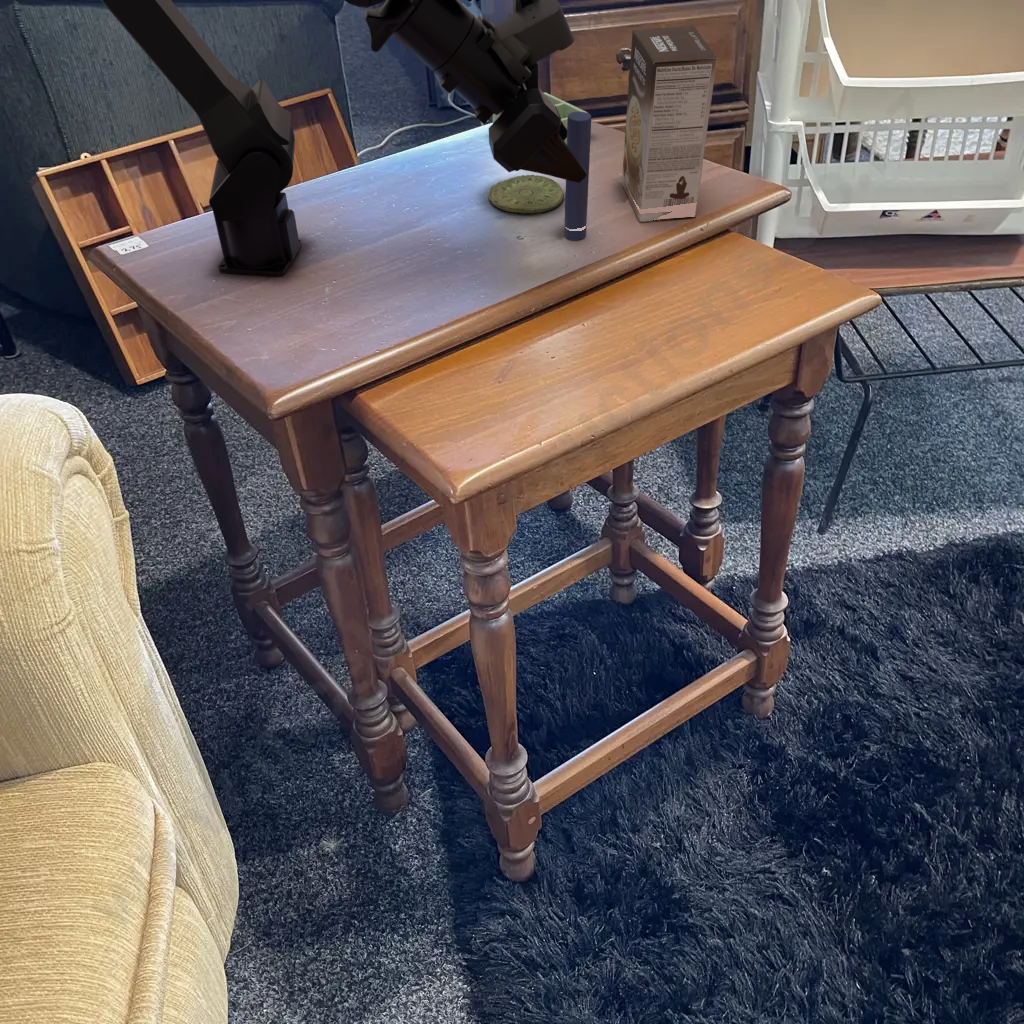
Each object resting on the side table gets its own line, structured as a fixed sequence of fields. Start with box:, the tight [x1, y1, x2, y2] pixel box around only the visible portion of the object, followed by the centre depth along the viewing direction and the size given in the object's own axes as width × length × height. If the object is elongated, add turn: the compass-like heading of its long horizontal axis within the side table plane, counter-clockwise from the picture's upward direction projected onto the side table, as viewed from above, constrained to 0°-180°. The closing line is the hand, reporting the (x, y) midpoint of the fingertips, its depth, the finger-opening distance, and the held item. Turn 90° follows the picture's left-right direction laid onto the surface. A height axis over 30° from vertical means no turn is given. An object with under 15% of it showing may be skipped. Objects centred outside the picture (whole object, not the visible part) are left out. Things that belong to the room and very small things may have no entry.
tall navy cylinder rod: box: [563, 111, 592, 241], centre depth 95 cm, size 2×2×12 cm
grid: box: [492, 91, 589, 145], centre depth 116 cm, size 8×8×3 cm
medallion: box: [487, 174, 564, 215], centre depth 105 cm, size 8×8×1 cm
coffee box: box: [621, 25, 718, 223], centre depth 99 cm, size 9×6×16 cm
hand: (574, 157), depth 94 cm, fingers open, 9 cm apart
